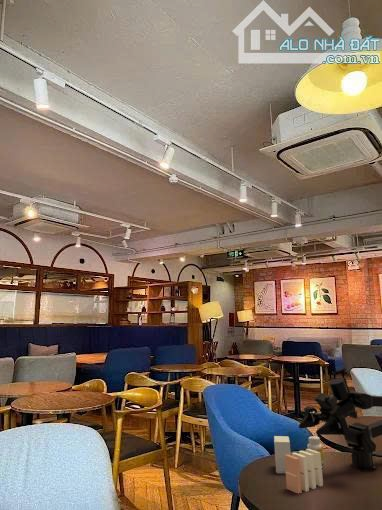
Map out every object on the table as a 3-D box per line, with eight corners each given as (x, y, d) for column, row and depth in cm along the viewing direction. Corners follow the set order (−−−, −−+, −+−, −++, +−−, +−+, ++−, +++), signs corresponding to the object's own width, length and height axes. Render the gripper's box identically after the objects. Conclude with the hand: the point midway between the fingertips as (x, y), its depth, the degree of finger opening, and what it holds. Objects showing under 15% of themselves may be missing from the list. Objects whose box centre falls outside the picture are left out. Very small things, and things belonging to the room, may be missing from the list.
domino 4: (311, 480, 128) (308, 448, 130) (323, 485, 124) (320, 452, 126) (308, 481, 127) (305, 449, 129) (320, 486, 123) (317, 453, 125)
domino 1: (289, 487, 123) (287, 454, 125) (301, 493, 119) (299, 458, 121) (286, 488, 122) (284, 455, 124) (298, 494, 118) (296, 459, 120)
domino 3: (304, 482, 126) (301, 450, 128) (316, 488, 122) (313, 454, 124) (301, 483, 125) (298, 451, 127) (313, 489, 121) (310, 455, 123)
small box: (292, 474, 134) (290, 442, 136) (276, 473, 135) (274, 441, 137) (291, 466, 142) (289, 435, 144) (275, 465, 143) (273, 435, 145)
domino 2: (297, 485, 125) (294, 452, 126) (309, 490, 120) (306, 456, 122) (294, 486, 124) (291, 453, 126) (305, 491, 120) (303, 457, 121)
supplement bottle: (324, 464, 143) (321, 436, 145) (324, 469, 138) (321, 440, 139) (309, 463, 144) (306, 435, 146) (308, 468, 139) (306, 439, 141)
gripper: (315, 386, 148) (284, 403, 142) (351, 393, 131) (318, 412, 125) (324, 414, 147) (293, 432, 141) (362, 424, 131) (329, 446, 124)
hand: (307, 430), depth 133 cm, fingers open, 9 cm apart
